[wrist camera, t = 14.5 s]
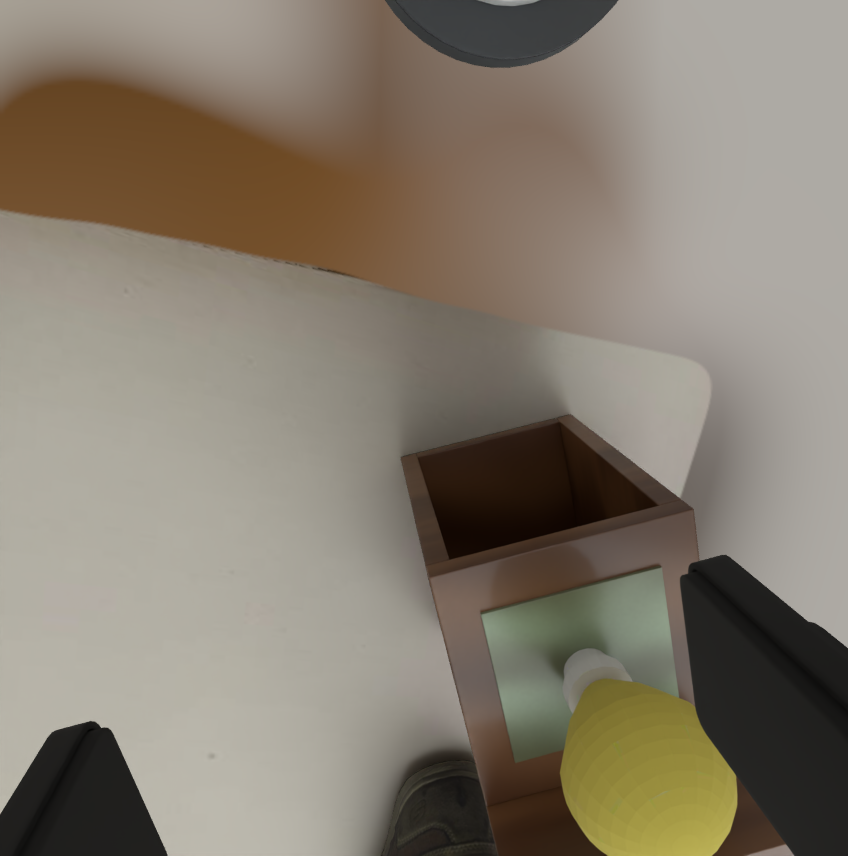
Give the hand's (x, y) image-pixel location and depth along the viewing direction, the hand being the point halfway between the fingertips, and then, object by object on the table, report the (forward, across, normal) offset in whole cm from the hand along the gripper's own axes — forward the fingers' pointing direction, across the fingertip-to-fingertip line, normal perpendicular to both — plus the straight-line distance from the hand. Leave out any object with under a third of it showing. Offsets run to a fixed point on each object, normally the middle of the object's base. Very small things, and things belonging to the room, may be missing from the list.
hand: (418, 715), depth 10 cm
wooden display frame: (+36, -7, +15) cm, 40 cm away
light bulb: (+18, -7, +15) cm, 25 cm away
